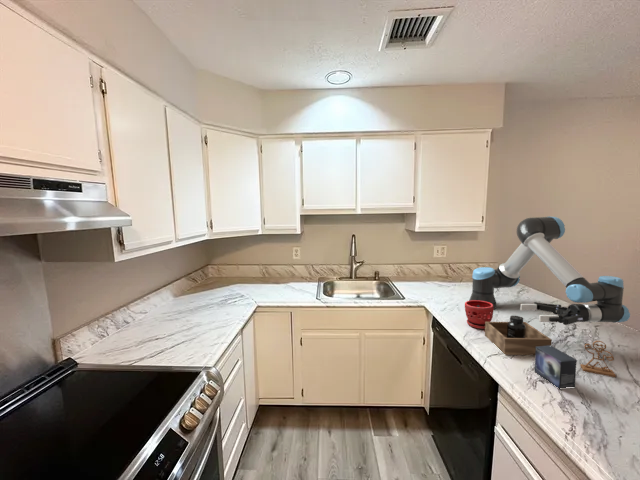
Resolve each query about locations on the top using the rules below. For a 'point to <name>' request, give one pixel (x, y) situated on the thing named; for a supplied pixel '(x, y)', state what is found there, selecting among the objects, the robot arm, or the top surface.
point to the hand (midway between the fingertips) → (529, 312)
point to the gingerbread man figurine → (597, 369)
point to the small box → (555, 366)
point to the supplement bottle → (516, 327)
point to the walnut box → (515, 339)
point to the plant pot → (478, 313)
